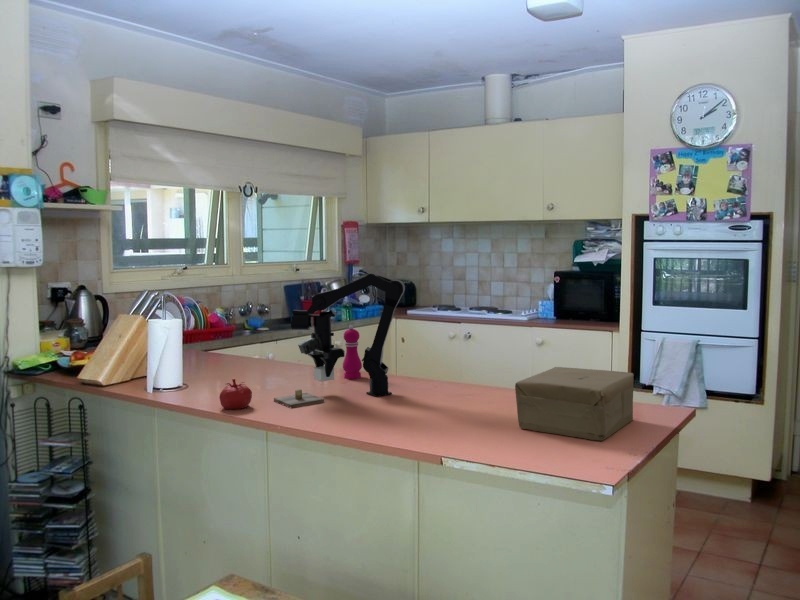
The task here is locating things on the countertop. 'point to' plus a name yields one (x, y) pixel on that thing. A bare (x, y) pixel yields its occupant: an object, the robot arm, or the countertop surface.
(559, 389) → the paper package
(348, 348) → the pepper mill
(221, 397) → the red tomato
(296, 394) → the post stand
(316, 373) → the white cube
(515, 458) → the countertop surface
